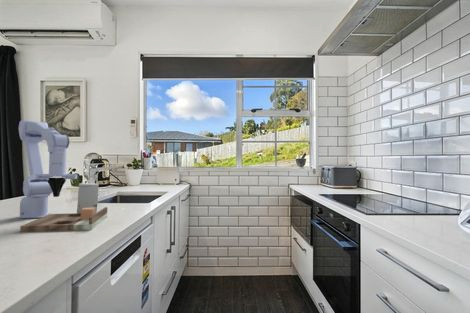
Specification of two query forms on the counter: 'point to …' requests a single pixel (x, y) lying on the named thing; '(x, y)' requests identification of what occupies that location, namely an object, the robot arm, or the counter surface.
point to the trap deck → (65, 222)
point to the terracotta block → (87, 213)
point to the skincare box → (87, 196)
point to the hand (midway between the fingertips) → (56, 196)
